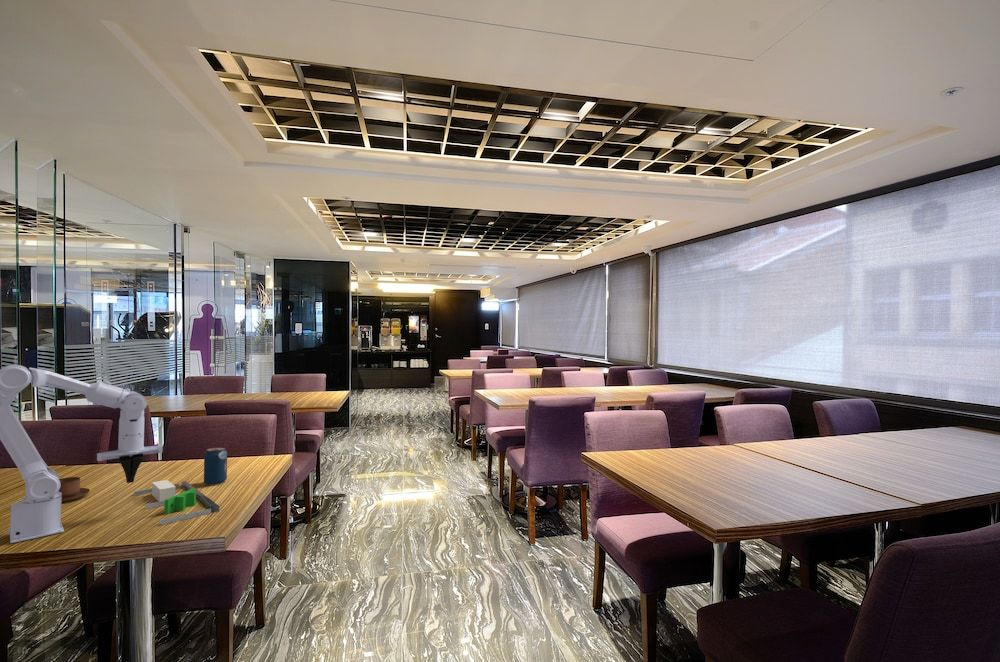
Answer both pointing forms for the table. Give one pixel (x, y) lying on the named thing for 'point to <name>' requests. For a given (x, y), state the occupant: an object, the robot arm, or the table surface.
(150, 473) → the table surface
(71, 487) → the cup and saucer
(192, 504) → the pipe clamp
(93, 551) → the table surface
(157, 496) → the seated block
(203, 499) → the grey pronged frame
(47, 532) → the robot arm
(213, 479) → the soda can
